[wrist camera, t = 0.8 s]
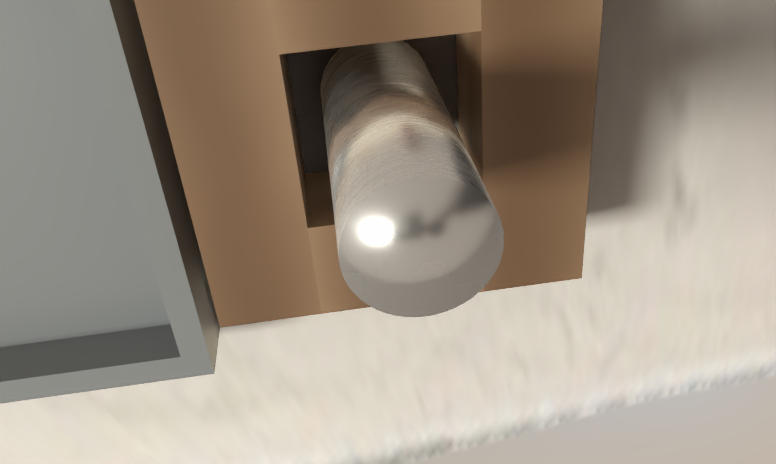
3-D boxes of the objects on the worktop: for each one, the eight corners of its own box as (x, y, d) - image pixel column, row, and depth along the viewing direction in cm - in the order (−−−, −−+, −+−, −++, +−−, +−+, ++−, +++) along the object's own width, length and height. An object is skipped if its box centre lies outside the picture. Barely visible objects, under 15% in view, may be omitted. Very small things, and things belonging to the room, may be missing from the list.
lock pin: (427, 28, 19) (504, 165, 12) (433, 133, 21) (503, 305, 14) (313, 42, 19) (328, 188, 12) (327, 146, 21) (347, 327, 14)
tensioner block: (565, -133, 17) (612, -119, 15) (548, 222, 23) (581, 277, 20) (142, -90, 17) (116, -66, 14) (227, 264, 22) (219, 327, 20)
